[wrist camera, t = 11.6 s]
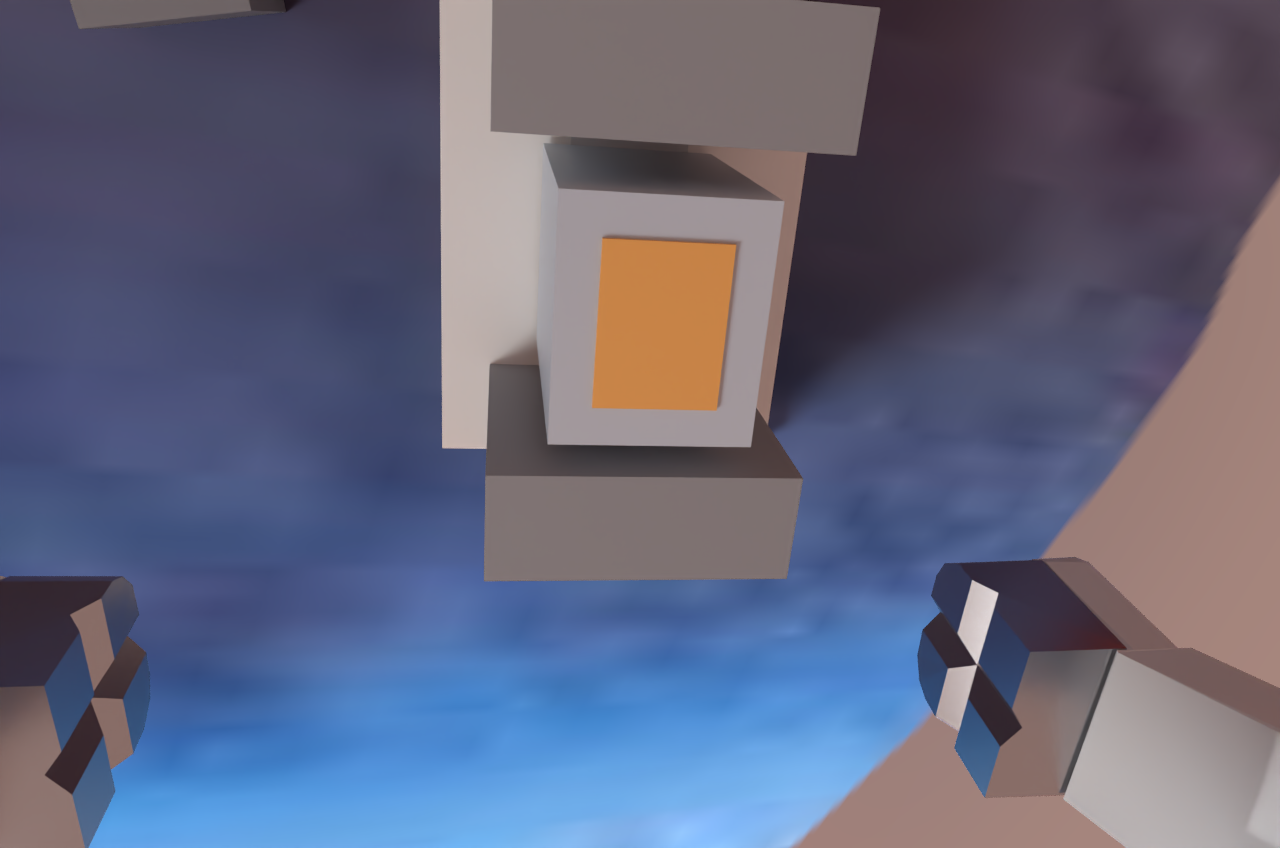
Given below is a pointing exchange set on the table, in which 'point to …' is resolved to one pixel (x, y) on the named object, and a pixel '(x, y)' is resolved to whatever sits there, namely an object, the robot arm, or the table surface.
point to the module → (652, 297)
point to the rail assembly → (510, 243)
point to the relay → (165, 11)
